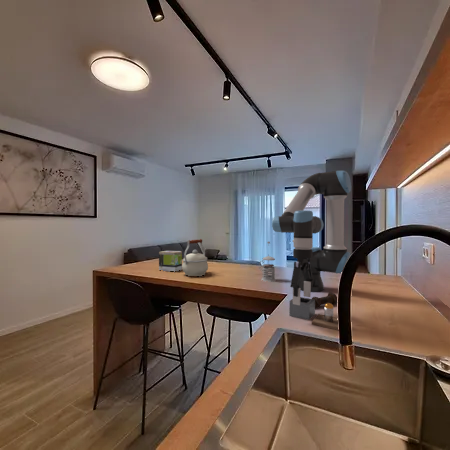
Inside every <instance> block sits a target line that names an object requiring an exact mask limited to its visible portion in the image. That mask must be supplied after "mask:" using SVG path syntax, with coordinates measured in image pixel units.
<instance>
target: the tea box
mask: <svg viewBox="0 0 450 450" xmlns="http://www.w3.org/2000/svg"><path fill="white" fill-rule="evenodd" d="M182 264H183V252H182V251H181V250H164V251H163V250H162V251H159V252H158V270H163V271H162V272H170V271H174V272H173V273H176V272H175V271H177V272H180V271H183V270H182ZM179 270H180V271H179Z"/></svg>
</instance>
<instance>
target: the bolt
mask: <svg viewBox="0 0 450 450" xmlns="http://www.w3.org/2000/svg"><path fill="white" fill-rule="evenodd" d="M337 298H338V296H337V294H336V293H333V292H328V293H327V295H326V296H322V297H319V296H318V297H317V296H313V297H311V299H315V309H316V308H317V309H319V308H320V307H321V306H322V305H324V306H325V304H326V303H331V304H332V305H333V306H335V305H337V304H338V302H337Z"/></svg>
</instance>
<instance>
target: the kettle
mask: <svg viewBox="0 0 450 450" xmlns="http://www.w3.org/2000/svg"><path fill="white" fill-rule="evenodd" d="M186 243H187V246H186V249H185V250H184V252H183V258H182V270H181V271H182V272H183V273H184V275H185V276H186V275H188V276H187V277H189V276H199V277H203V276H202V275H204V276H205V275H206V272H208V269H209V264H208V257H207V256H206V249H205V247H204V246H203V239H202V238H200V239H191V240H190V239H189V240H187V242H186ZM190 244H194V245H195V244H200V247H201V248H202V252H203V253H199V251H198V250H197V249H193V250H192V253H188V254H187V252H188V251H189V248H190Z"/></svg>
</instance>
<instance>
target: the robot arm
mask: <svg viewBox="0 0 450 450" xmlns="http://www.w3.org/2000/svg"><path fill="white" fill-rule="evenodd" d="M351 182H352V181H351V177H350V175H349V173H348V172H347V171H346V170H334V171H326V172H318V173H314V174H312V175H309V176H308V177H307V178H306V179H304V180H303V181H302V182H301V183H300V185H299V186H298V187H297V192H296V193H295V195H294V196H293V198H292V200H291V201H290V203H289V204H288V205H287V207H286V209H285V210H284V211H283V213H282V214H281V215H279V216H274V217H273V219H272V220H271V227H272V230H273V231H274V232H276V233H292V234H293V239H292V243H293V246H292V247H293V250H292V252H293V253H292V256H293V258H294V259H297V261H294V262H293V270H292V277H291V282H290V288H292V299H293V304H295V305H300V297H301V291H303V297H304V298H312V297H311V295H312V294H311V292H322V291H323V290H324V289H325V288H324V287H325V285H324V283H323V279H322V277H321V276H322V275H321V272H322V273H323V272H326V273H332V274H333V273H334V274H341V272H342V270H343V267H344V265H345V263H346V261H347V259H348V258H349V256H350V255H351V252H349V251H348V248H347V247H346V246H345V244H344V243H345V242H344V241H345V199H346V198H347V197H348V194H349V193H351V192H352V183H351ZM317 195H323V198H324V199H325V200H326V244H325V246H323V250H322V248H321V247H317V246H315V247H313V246H314V245H313V241H314V240H313V239H314V237H313V236H314V235H315V234H317V233H321V231H322V230H323V229H324V226H325V225H324V221H323V219H322V218H321V217H319V216H316V215H314V213H313V211H312V210H305V208H306V207H307V205H308V203H309V201H310V200H311V199H312V198H314V197H315V196H317Z"/></svg>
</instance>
